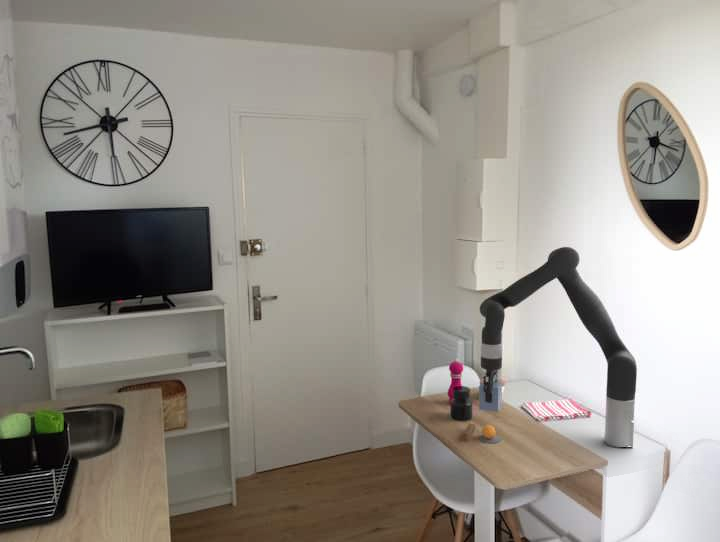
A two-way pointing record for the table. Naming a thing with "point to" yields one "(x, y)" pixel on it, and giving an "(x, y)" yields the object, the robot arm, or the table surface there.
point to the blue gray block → (496, 397)
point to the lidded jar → (498, 381)
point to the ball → (488, 431)
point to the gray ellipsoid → (493, 440)
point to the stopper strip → (468, 432)
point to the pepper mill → (455, 377)
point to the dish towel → (556, 410)
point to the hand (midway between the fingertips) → (490, 398)
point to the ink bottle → (461, 404)
